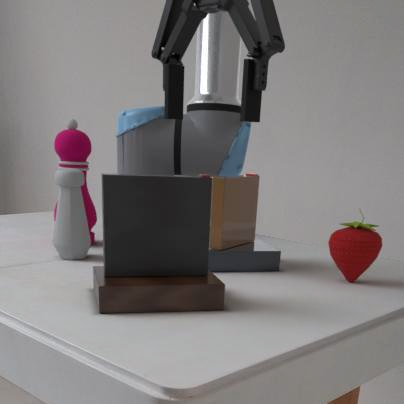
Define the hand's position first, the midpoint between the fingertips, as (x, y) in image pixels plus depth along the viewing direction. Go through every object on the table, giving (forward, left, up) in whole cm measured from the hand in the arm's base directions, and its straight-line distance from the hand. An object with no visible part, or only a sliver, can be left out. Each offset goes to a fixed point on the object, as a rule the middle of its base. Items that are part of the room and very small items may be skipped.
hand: (209, 120), depth 71 cm
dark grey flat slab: (+11, -8, -17) cm, 22 cm away
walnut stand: (+11, -8, -20) cm, 24 cm away
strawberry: (+4, +21, -20) cm, 29 cm away
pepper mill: (-26, -16, -20) cm, 37 cm away
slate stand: (-8, +7, -20) cm, 23 cm away
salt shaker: (-14, -17, -20) cm, 30 cm away
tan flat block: (-8, +7, -17) cm, 20 cm away
